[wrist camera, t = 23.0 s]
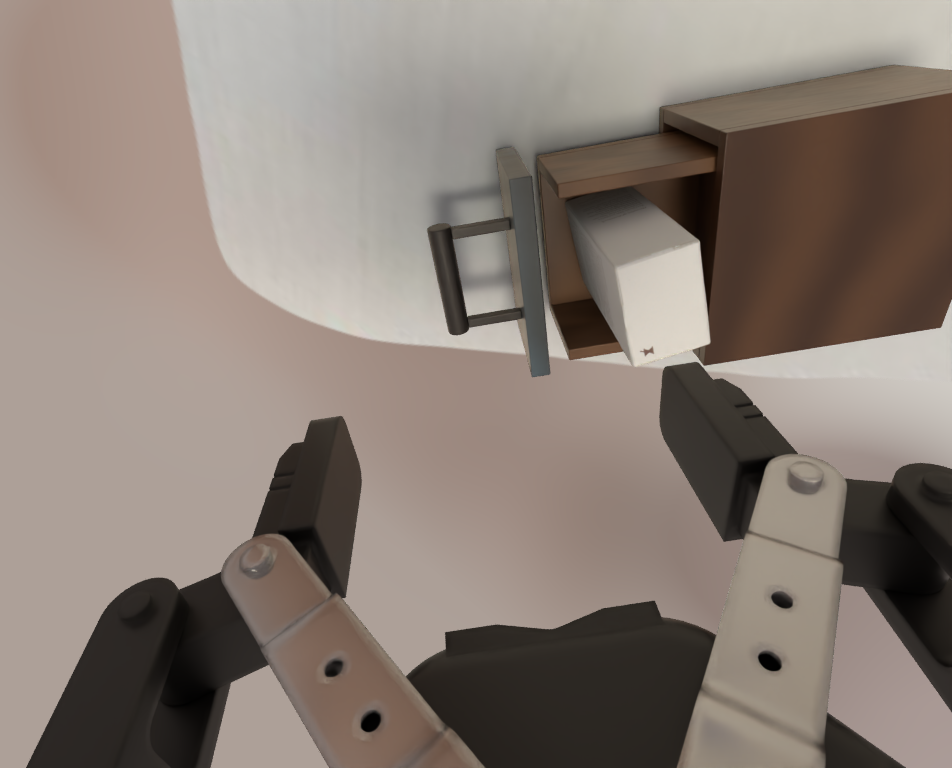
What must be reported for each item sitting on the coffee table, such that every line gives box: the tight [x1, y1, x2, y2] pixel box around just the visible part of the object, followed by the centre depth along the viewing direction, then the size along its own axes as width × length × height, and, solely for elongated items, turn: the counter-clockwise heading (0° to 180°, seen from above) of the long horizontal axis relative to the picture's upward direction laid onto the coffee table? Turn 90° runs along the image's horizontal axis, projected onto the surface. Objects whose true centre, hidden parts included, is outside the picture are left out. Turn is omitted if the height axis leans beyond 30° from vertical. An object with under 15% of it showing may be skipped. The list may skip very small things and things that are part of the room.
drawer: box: [427, 130, 718, 377], centre depth 34 cm, size 18×12×8 cm
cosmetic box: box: [565, 186, 711, 367], centre depth 31 cm, size 6×4×12 cm
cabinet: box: [659, 65, 952, 366], centre depth 34 cm, size 15×14×10 cm
